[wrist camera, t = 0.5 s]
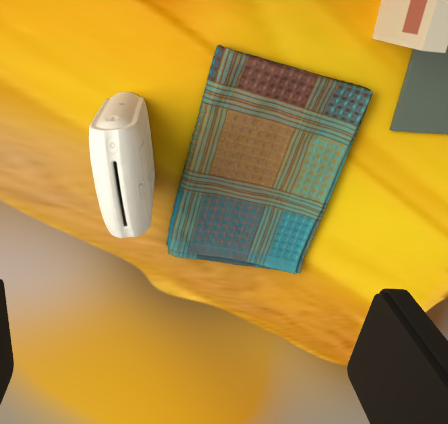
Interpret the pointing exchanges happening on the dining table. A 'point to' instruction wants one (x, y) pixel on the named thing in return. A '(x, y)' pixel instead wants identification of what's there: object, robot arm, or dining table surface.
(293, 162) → the dish towel
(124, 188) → the photo printer
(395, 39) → the card box
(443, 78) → the mat
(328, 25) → the dining table surface
